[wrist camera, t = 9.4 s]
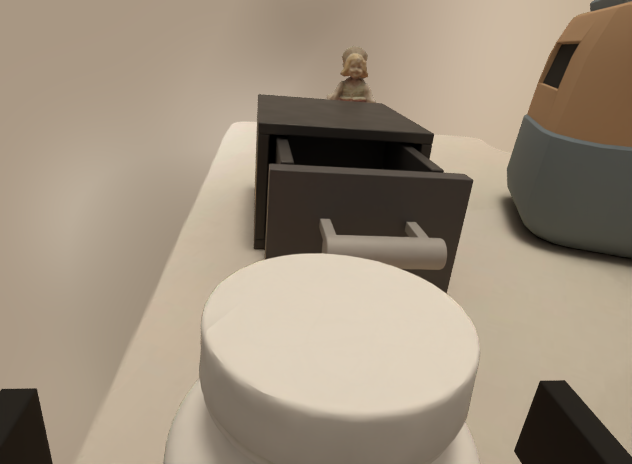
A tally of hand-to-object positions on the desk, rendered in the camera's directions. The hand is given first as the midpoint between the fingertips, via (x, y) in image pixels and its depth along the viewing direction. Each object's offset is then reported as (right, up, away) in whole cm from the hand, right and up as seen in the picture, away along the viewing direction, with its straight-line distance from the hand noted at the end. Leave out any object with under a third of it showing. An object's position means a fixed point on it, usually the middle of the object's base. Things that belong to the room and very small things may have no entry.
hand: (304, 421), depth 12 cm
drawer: (+2, +3, +20) cm, 20 cm away
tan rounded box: (+28, +5, +33) cm, 43 cm away
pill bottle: (0, -7, 0) cm, 6 cm away
